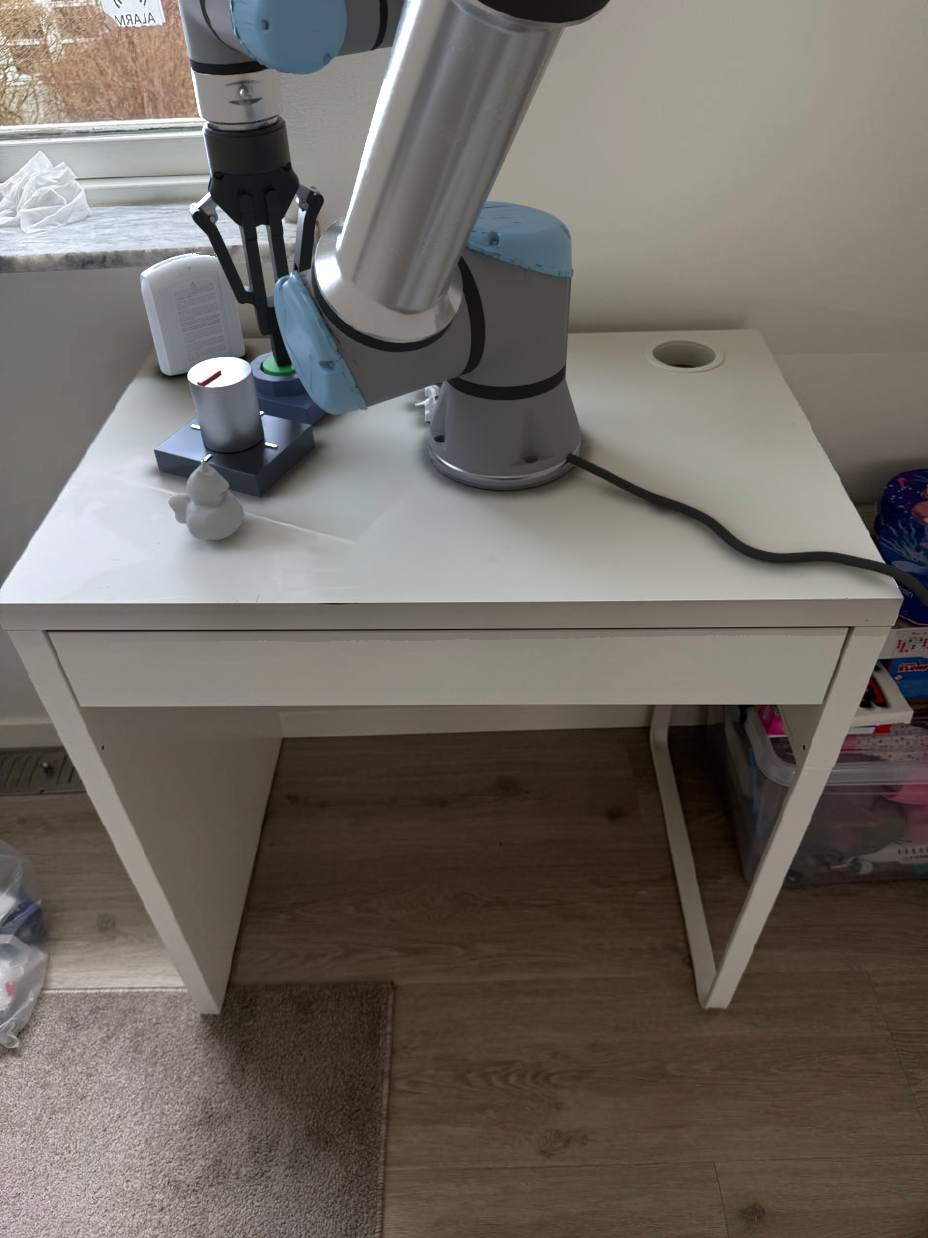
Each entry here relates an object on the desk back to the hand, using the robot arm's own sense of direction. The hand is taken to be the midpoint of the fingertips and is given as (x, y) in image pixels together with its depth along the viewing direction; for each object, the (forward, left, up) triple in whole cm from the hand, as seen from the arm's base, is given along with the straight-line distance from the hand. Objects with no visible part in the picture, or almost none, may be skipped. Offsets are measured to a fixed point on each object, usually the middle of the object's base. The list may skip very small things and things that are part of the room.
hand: (282, 359), depth 101 cm
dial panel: (-2, +13, -5) cm, 14 cm away
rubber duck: (-7, +24, -5) cm, 25 cm away
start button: (0, 0, -2) cm, 2 cm away
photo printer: (+14, -3, -5) cm, 15 cm away
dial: (-2, +13, -2) cm, 13 cm away
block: (0, 0, -5) cm, 5 cm away
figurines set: (-14, -6, -5) cm, 16 cm away
